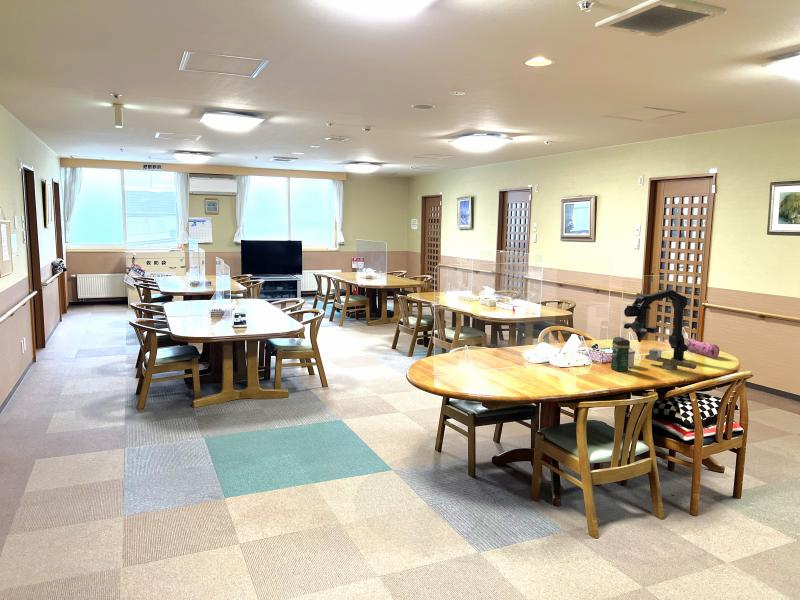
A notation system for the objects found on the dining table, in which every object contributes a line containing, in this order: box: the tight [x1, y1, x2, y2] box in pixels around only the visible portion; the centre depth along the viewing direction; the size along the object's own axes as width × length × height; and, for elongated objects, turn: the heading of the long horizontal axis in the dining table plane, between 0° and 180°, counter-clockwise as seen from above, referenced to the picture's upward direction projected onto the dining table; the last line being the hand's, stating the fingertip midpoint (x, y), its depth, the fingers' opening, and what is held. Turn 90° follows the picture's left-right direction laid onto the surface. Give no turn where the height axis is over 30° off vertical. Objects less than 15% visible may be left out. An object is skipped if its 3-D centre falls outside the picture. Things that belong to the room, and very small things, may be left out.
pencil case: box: [685, 337, 720, 359], centre depth 374 cm, size 21×9×9 cm, turn 17°
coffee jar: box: [610, 336, 631, 373], centre depth 334 cm, size 10×8×19 cm
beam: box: [644, 354, 698, 371], centre depth 340 cm, size 6×28×5 cm, turn 42°
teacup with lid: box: [628, 347, 636, 368], centre depth 344 cm, size 12×9×12 cm
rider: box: [648, 348, 663, 362], centre depth 346 cm, size 5×5×6 cm
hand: (639, 342), depth 352 cm, fingers closed
